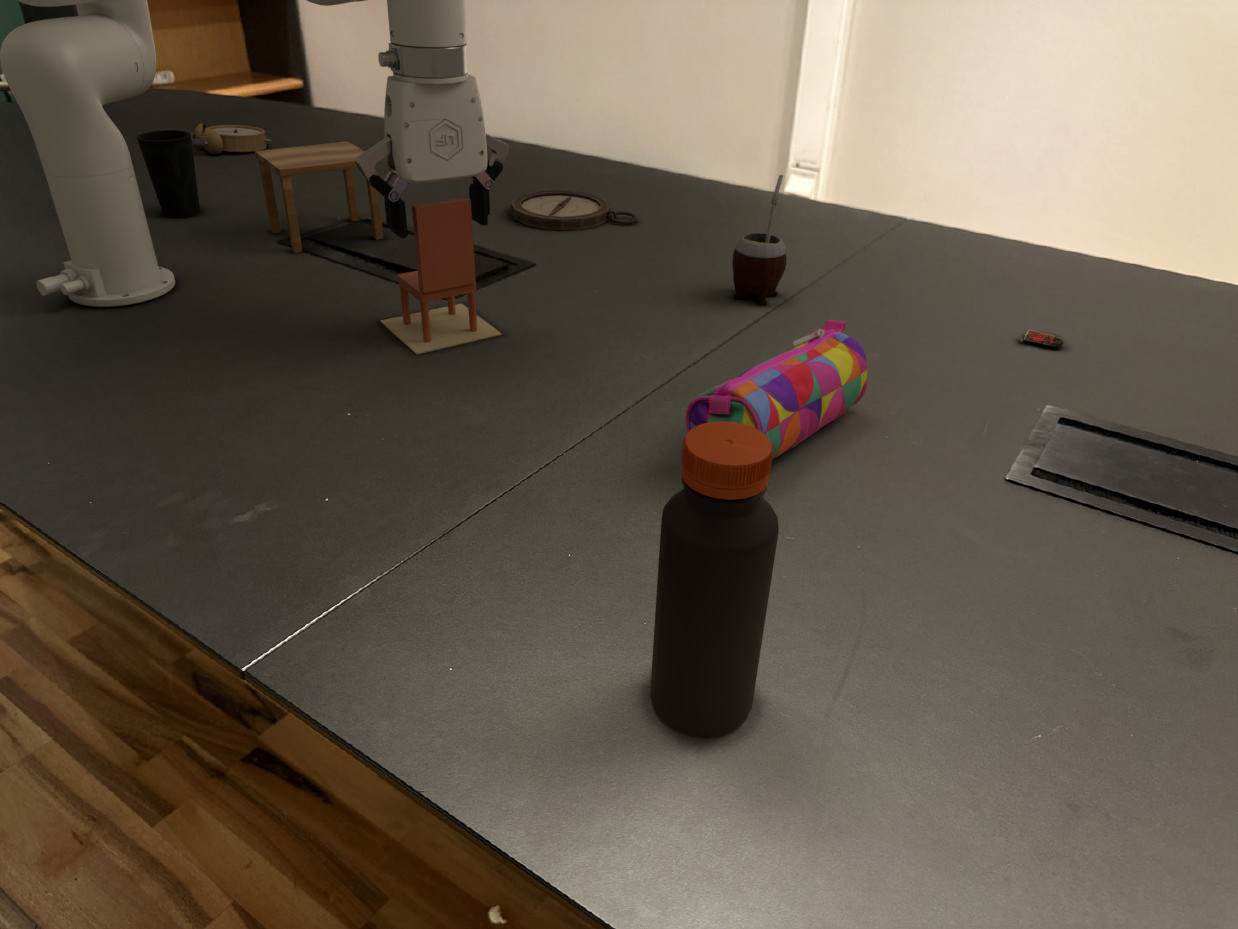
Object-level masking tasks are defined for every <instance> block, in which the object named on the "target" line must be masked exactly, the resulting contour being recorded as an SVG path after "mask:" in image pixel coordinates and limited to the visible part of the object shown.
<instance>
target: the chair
mask: <svg viewBox="0 0 1238 929" xmlns="http://www.w3.org/2000/svg"><path fill="white" fill-rule="evenodd" d="M411 215H412V226H413V227H412V228H413V238H414V248H415V257H416V258H415V259H416V260H415V261H416V269H417V270H414V271H409V272H408V271H407V272H403V273H398V274H396V277H397V278H396V279H397V285H398V286H399V293H400V294H399V295H400V302H401V303H400V304H401V311H402V312H401V313H402V316H403V323H404V324H406V325H408V324H411V318H410V314H411V310H410V309H411V308H410V299H409V294H410V295H411V296H412V297H414V299H416V300H417V301H418V302H419V306H420V312H421V318H422V329H423V340H424V342H430V341H431V330H430V319H429V310H430V309H429V302H433V301H438V300H442V299H443V300H444V299H446V300H447V306H448V313H449V315H454V314H456V310H455V305H456V298H455V297H457V296H462V295H467V308H468V310H469V325H470V331H472V332H475V331H477V316H476V315H477V301H476V300H477V299H476V292H477V282H476V265H475V263H476V262H475V247H474V246H475V245H474V232H473V229H474V228H473V220H472V211H471V199H469V197H467V196H464V197H456V198H450V199H449V198H448V199H443V200H436V201H428V202H423V203H415V204H411Z"/></svg>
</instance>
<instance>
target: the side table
mask: <svg viewBox="0 0 1238 929" xmlns="http://www.w3.org/2000/svg"><path fill="white" fill-rule="evenodd" d="M365 151H366V150H363V149H361V148H360V147H358V146H357V145H354V144H353V143H351V142H349V141H340V142H339V141H337V142H329V143H321V144H320V143H319V144H310V145H301V146H300V145H299V146H292V147H282V148H281V147H280V148H272V149H271V148H270V149H263V150H259V151H254V153H255V158H256V159H257V160H258V165H259V172H260V177H261V182H262V187H263V194H264V199H265V203H266V204H265V205H266V209H267V215H268V222H269V226H270V231H271V233H272V234H278V233H281V232H282V229H281V223H280V217H279V211H278V207H277V200H276V195H275V189H274V183H273V176H272V172H271V171H273V172H274V173H275V174H276V175H278V176H279V182H280V187H281V194H282V200H283V205H284V211H285V217H286V223H287V229H288V235H289V240H290V245H291V246H290V247H291V251H292V252H293V254H298V253H303V244H302V239H301V233H300V226H299V221H298V215H297V214H298V213H297V210H296V209H297V208H296V202H295V197H294V190H293V184H292V178H291V176H298V175H307V174H308V175H309V174H313V173H314V174H315V173H323V172H331V171H332V172H333V171H341V170H342V174H343V180H344V188H345V189H344V190H345V196H346V203H347V213H348V219H349V220H350V221H351V222H359V221H360V218H359V210H358V202H357V201H358V200H357V194H356V186H355V178H354V170H353V169H357V168H358V166H357V165H356V163H355V159H356V158H357V157H358V156H359V155H361V154H362V153H364V152H365ZM377 165H378V163H377V164H376V165H375V169H376V170H377V168H376V166H377ZM366 185H367V195H368V204H369V211H370V212H369V213H370V221H371V228H372V236H373V239H375V240H376V241H377V240H384V230H383V229H384V228H383V220H382V211H381V204H380V193H379V192H378V191H377V190H376V189H375V188H373V187H372V186H371V185H370V184H369V183H368V182H367V181H366Z"/></svg>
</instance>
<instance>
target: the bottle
mask: <svg viewBox="0 0 1238 929" xmlns="http://www.w3.org/2000/svg"><path fill="white" fill-rule="evenodd" d="M686 432H687V431H686ZM770 441H771V440H769V438H768V437H767V436H766V435H765V434H763V432H761V431H760V430H758V429H755V428H753V427H751V426H749V425H745V424H741V423H736V422H726V421H719V422H709V423H705V424H701V425H698V426H696V427H695V428H693V429H691V430H689V432H687V433H685V435H684V437H683V443H682V454H681V455H682V457H681V470H680V471H681V473H680V475H681V484H682V486H683V488H682V489H681V490H680V491H677V492H676V493H674V494H673V495H672V496H671V497H670V498H669V500H668V501H667V502H666V503H665V505H664V506H663V509H662V515H661V521H660V535H659V536H660V537H659V552H658V566H657V582H656V594H655V595H656V598H655V612H654V628H653V640H652V641H653V642H652V656H651V658H652V659H651V672H650V673H651V674H650V690H649V697H650V701H651V705H652V707H653V711H654V713H655V714H656V715H657V716H658V718H659V719H660V720H661V721H662V723H664V724H666V725H667V726H668V727H670V728H671V729H672V730H674V731H676V732H678V733H681V734H684V735H687V736H689V737H696V738H703V739H704V738H705V739H707V738H708V739H709V738H717V737H723V736H724V735H727V734H729V733H732V732H734V731H736V730H737V729H738V728H739V727H741V726H742V725H743V724H744V723H745V722H746V721H747V719H748V717H749V715H750V713H751V711H752V708H753V703H754V696H755V690H756V689H755V688H756V684H757V677H758V671H759V664H760V658H761V657H760V656H761V650H762V645H763V637H764V630H765V624H766V617H767V611H768V604H769V597H770V592H771V585H772V579H773V578H772V577H773V571H774V565H775V558H776V551H777V546H778V545H777V544H778V538H779V518H778V515H777V514H776V512H775V510H774V508H773V507H772V505H771V504H770V502H769V501H767V500H766V499H765V498H764V495H765V493H766V492H767V490H768V485H769V482H770V475H771V470H772V469H771V468H772V462H773V459H772V455H773V446H772V445H773V444H772V442H770Z"/></svg>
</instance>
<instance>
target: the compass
mask: <svg viewBox="0 0 1238 929" xmlns="http://www.w3.org/2000/svg"><path fill="white" fill-rule="evenodd" d="M510 207H511V209H510V210H511V215H512V217H513V219H514V221H517V222H518V223H521V224H523V225H525V226H528V227H532V228H537V229H542V230H552V231H576V230H577V231H578V230H584V229H585V230H586V229H589V228H595V227H598V226H601V225H602V224H605V223H606V222H608V221H610V222H614V223H616V224H620V225H633V224H635V223H637V221H638V217H637V215H636V214H634V212H629V211H623V210H621V211H614V210H611V204H610V203H609V201H607V199H605V198H604V197H601V196H598V195H596V194H594V193H589V192H584V191H578V190H569V189H567V190H566V189H547V190H546V189H545V190H544V189H543V190H537V191H531V192H526V193H523V194H521V195H518V196H516V197H515V198H514V199H513V200H512V201H511V204H510ZM621 215H622V216H627V217H632V218H633V219H632V220H620V219H617V217H618V216H621Z"/></svg>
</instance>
